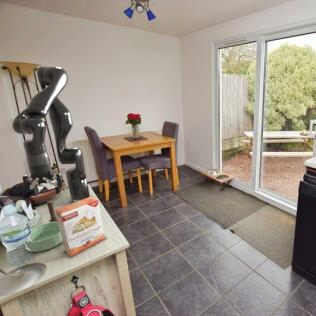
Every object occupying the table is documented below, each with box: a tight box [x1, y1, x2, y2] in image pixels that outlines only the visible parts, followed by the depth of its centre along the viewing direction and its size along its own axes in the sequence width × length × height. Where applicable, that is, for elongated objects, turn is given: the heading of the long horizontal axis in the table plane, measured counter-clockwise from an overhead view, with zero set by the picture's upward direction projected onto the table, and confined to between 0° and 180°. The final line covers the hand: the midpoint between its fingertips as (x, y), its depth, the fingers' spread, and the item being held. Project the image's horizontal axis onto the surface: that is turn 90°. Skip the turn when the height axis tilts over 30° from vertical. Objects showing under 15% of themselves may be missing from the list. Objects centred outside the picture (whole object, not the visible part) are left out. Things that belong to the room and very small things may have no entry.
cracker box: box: [54, 196, 105, 257], centre depth 95 cm, size 14×6×21 cm, turn 148°
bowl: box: [25, 221, 63, 253], centre depth 99 cm, size 14×14×6 cm
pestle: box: [46, 200, 58, 223], centre depth 108 cm, size 4×4×14 cm
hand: (47, 194), depth 104 cm, fingers open, 8 cm apart
